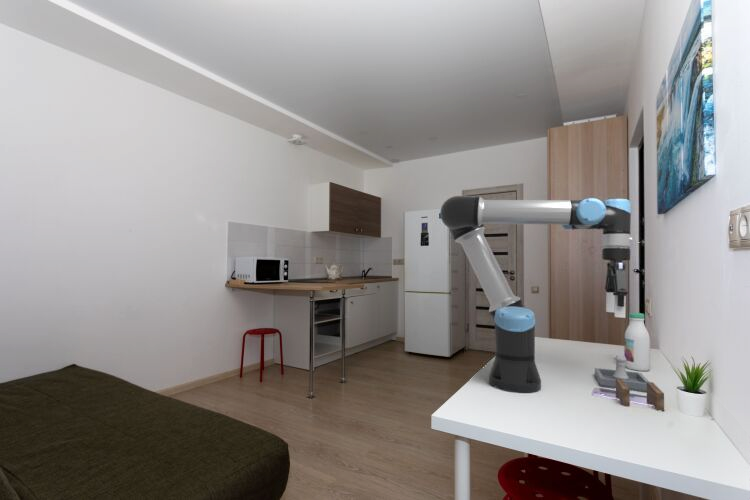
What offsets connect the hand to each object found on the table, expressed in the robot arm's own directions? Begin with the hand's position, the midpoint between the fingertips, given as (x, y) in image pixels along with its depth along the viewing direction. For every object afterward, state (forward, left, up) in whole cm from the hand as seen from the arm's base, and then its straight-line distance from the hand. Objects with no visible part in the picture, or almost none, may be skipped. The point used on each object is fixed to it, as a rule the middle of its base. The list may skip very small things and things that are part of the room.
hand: (615, 314), depth 120 cm
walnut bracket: (+3, -16, -22) cm, 27 cm away
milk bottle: (+11, +24, -22) cm, 34 cm away
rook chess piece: (+2, +1, -21) cm, 21 cm away
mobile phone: (-1, -13, -22) cm, 26 cm away
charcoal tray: (+2, +1, -22) cm, 22 cm away
